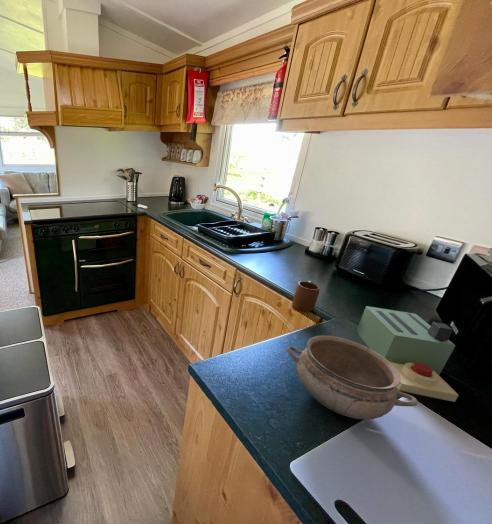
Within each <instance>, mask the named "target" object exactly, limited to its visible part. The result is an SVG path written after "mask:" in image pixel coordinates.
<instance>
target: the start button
mask: <svg viewBox="0 0 492 524" xmlns="http://www.w3.org/2000/svg"><path fill="white" fill-rule="evenodd" d="M412 370H413V371H414V372H416V373H417V374H419V375H422V376H425V377H430V376H431V374H432V372H433V370H432V369H431V368H430V367H429V366H427V365H425V364H422V363H417V362H416V363H414V365H413V367H412Z"/></svg>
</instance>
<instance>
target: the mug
mask: <svg viewBox="0 0 492 524" xmlns="http://www.w3.org/2000/svg"><path fill="white" fill-rule="evenodd" d="M320 290H321V287H320V286H319V285H317V284H316V283H314V282H313V281H312V280H308V281H305V280H304V281H301V280H300V281H298V283H297V286H296V288H295V292H294V295H293V299H292V304H291V305H292V306H293V307H294V308H295V309H297V310H299V311H303V312H312V311H313V310H315V307H316V303H317V301H318V297H319V294H320Z"/></svg>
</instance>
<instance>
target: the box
mask: <svg viewBox="0 0 492 524" xmlns="http://www.w3.org/2000/svg"><path fill="white" fill-rule="evenodd" d="M390 363H391V364H392V365H393V366H394V367H395V368H396V369H397V370H398V372H399V374H400V377H401V381H400V384H399V385H398V386H396V388H397V390H398V391H400V392H403V393H410V394H413V395H414V394H415V395H419V396H425V397H429V398H434V399H439V400H443V401H448V402H453V403H455V402H456V401H457V399H458V398H459V397H460V396H459V394H458V393H457V392H456V390H454V389H453V388H452V387H451V386H450V385H449V384H448V383H447V382H446V381H445V380H444V379H443V378H442V377H441V376H440V375H438V374H437V373H436V372H435V371H434V370H433V372H432V374H431V376H430V377H425V376H422V375H419V374H417V373H416V372H414V371H413V370H412V367H413V365H414V363H406V364H405V365H403V364H397V363H392V362H390Z"/></svg>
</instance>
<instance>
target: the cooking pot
mask: <svg viewBox="0 0 492 524" xmlns="http://www.w3.org/2000/svg"><path fill="white" fill-rule="evenodd" d="M286 352H287V354H288V355H289V356H290V357H291V359H293V361H295V363H296V371H297V377H298V379H299V381H300V383H301V386H302V387H303V388H304V389H305V391H306V392H307V393H308V394H309V395H310V396H311V397H312V398H313V399H314V400H315V401H316V402H318V403H319V404H320V405H322V406H323V407H325V408H327V409H328V410H330V411H332V412H334V413H336V414H338V415H341V416H345V417H347V418H352V419H357V420H375V419H378V418H382V417H384V416H385V415H387V414H389V413H390V412H391V411H392V410H393V408H394V407H416V406H417V405H418V404H419V401H418V400H417V398H416V397H414V396H413V395H410V394H408V393H406V392H403V391H399V390H398V389H397V387H396V386H398V385H399V384H400V381H401V377H400V374H399V372H398V370H397V369H396V368H395V367H394V366H393V365H392V364H391V363H390V362H389V361H388V360H387V359H385V358H384V357H383V356H381V355H380V354H378V353H377V352H375V351H373V350H371V349H370V348H369V347H368V346H365V345H364V344H361V343H358V342H356V341H353V340H351V339H350V340H349V339H347V338H344V337H339V336H333V335H316V336H313V337H310V338H309V339H308V340H307V342H306V347H305V349H304V350H300V349H299V348H296V347H294V346H291V345H289V346H287V347H286ZM295 353H296V354H298V355H296V354H295ZM397 397H398V398H404V399H407V400H410V401H405V400H401V399H398V398H397Z"/></svg>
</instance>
